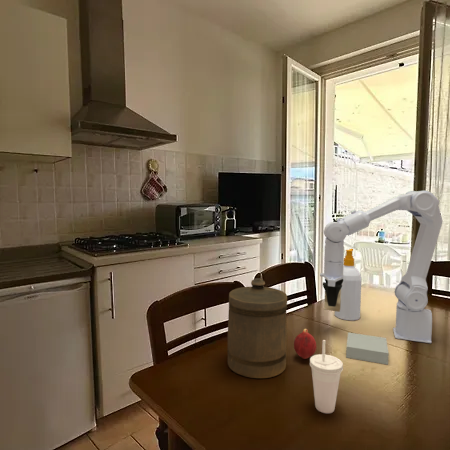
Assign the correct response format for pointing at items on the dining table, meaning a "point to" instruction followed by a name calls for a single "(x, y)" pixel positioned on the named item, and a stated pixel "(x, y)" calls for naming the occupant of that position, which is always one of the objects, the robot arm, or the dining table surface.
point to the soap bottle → (350, 290)
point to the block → (332, 308)
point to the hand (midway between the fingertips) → (332, 303)
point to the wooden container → (257, 330)
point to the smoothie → (325, 380)
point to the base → (367, 348)
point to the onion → (305, 344)
